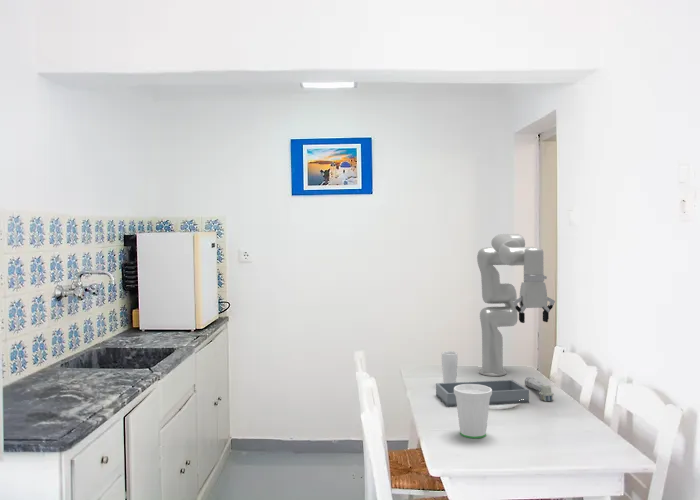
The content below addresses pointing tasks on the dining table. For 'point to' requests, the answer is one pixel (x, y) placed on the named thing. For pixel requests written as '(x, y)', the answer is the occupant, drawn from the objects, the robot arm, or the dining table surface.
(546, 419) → the dining table surface
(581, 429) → the dining table surface
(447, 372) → the drinking glass
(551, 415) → the dining table surface
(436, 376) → the dining table surface
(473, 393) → the cup
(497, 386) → the bin
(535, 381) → the white electric toothbrush
